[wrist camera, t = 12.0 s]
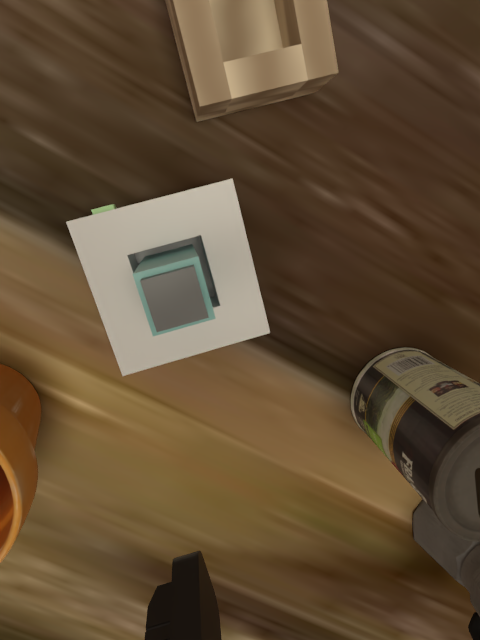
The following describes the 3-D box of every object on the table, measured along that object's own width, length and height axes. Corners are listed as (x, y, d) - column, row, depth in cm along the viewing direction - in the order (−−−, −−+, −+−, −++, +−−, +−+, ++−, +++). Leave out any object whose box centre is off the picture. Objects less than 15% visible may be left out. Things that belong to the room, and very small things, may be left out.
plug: (192, 243, 34) (198, 257, 24) (205, 289, 35) (217, 321, 25) (144, 256, 34) (131, 276, 23) (159, 302, 35) (152, 340, 24)
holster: (289, -53, 31) (310, -103, 26) (315, 92, 33) (338, 72, 29) (158, -25, 30) (155, -70, 25) (196, 122, 33) (199, 106, 28)
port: (223, 178, 34) (231, 172, 29) (258, 317, 37) (270, 332, 33) (80, 215, 33) (63, 216, 28) (129, 354, 37) (122, 376, 32)
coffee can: (385, 457, 44) (479, 568, 30) (330, 393, 41) (406, 482, 27) (462, 395, 43) (592, 479, 30) (411, 325, 40) (530, 382, 27)
